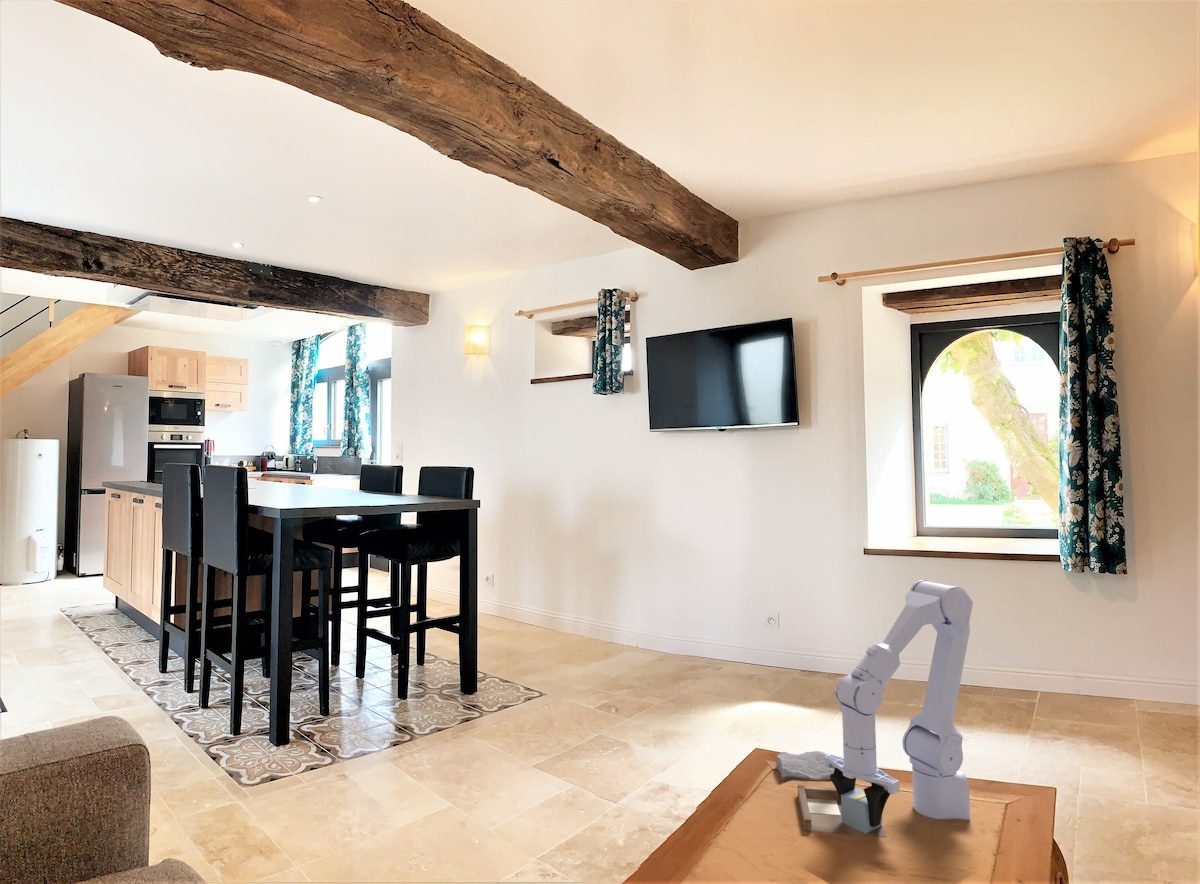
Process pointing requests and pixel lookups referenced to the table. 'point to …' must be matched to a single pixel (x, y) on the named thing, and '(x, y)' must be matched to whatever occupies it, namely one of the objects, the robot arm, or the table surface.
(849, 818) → the cube
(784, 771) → the stone block
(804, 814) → the tray
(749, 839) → the table surface
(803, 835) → the table surface
